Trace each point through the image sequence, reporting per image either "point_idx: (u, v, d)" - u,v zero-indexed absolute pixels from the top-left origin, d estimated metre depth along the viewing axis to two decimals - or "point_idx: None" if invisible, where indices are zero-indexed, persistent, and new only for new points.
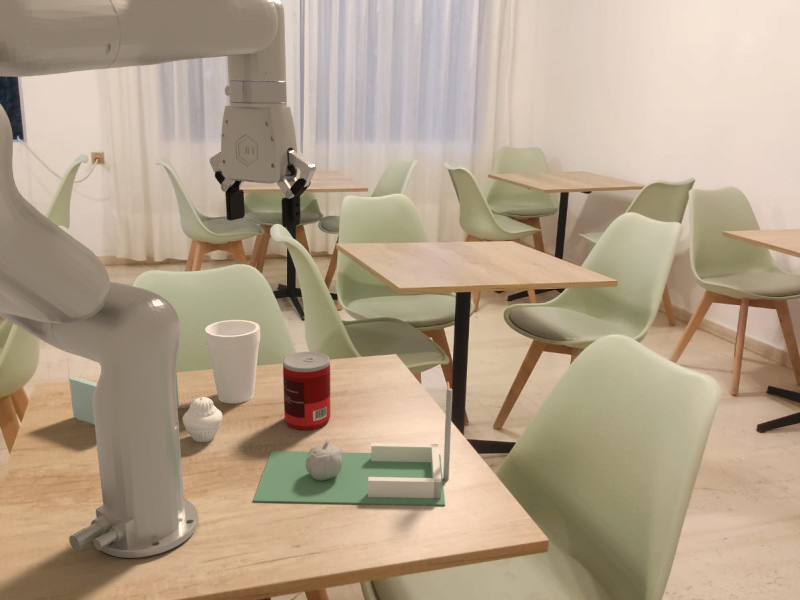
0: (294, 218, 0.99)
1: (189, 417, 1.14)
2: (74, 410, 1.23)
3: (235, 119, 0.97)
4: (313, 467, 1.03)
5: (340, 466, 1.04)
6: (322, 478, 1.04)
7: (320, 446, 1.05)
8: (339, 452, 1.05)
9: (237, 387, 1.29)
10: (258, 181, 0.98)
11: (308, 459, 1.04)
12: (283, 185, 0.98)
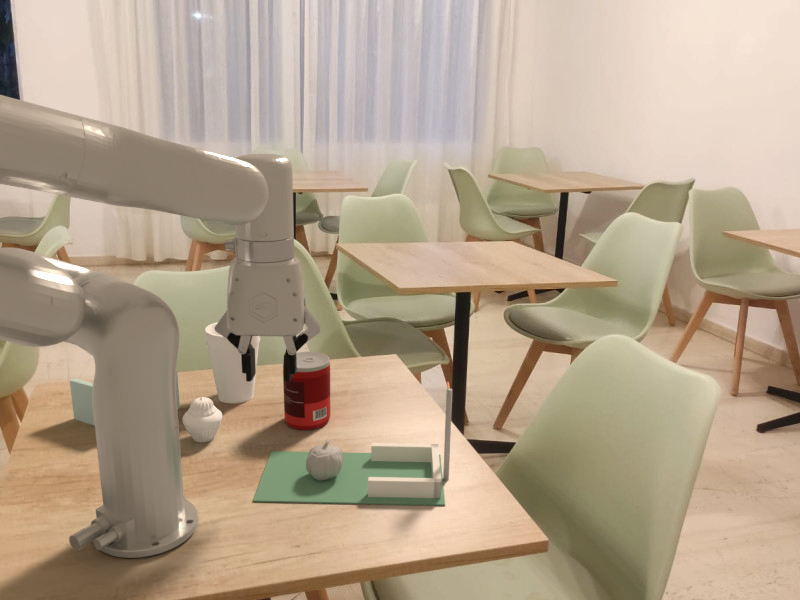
0: (295, 372, 1.01)
1: (189, 417, 1.14)
2: (74, 412, 1.22)
3: (248, 277, 0.95)
4: (313, 467, 1.03)
5: (340, 466, 1.04)
6: (322, 478, 1.04)
7: (320, 446, 1.05)
8: (339, 452, 1.05)
9: (237, 387, 1.29)
10: (277, 335, 0.97)
11: (308, 459, 1.04)
12: (289, 341, 0.99)
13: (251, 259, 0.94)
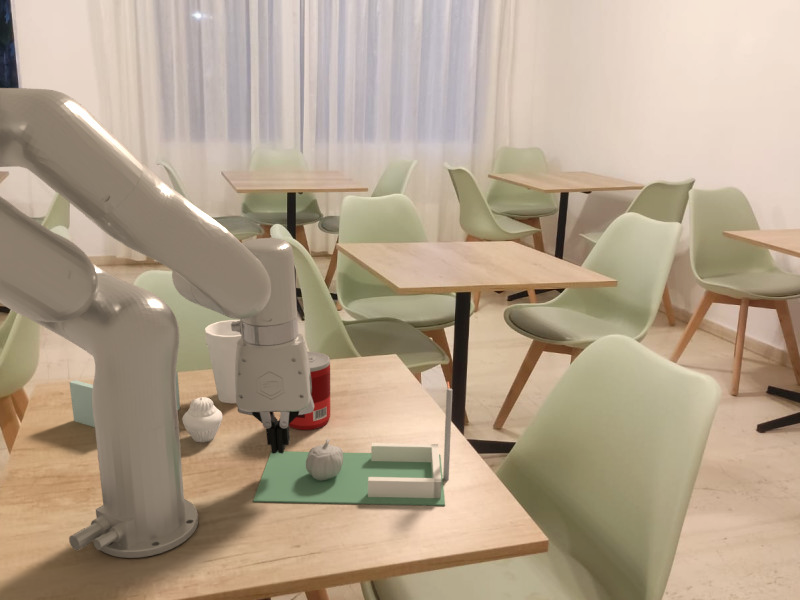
0: (288, 443, 1.05)
1: (189, 417, 1.14)
2: (74, 414, 1.22)
3: (255, 358, 0.99)
4: (313, 467, 1.03)
5: (340, 466, 1.04)
6: (322, 478, 1.04)
7: (320, 446, 1.05)
8: (339, 452, 1.05)
9: None
10: (285, 410, 1.01)
11: (308, 459, 1.04)
12: (285, 416, 1.03)
13: (257, 342, 0.97)
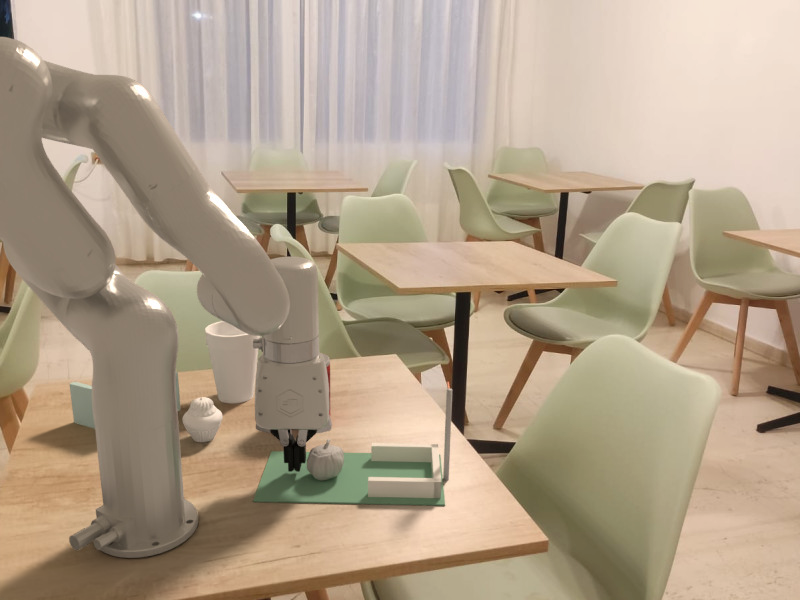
0: (304, 461, 1.05)
1: (189, 417, 1.14)
2: (74, 415, 1.21)
3: (276, 375, 0.99)
4: (314, 467, 1.03)
5: (341, 466, 1.04)
6: (323, 478, 1.04)
7: (321, 446, 1.05)
8: (340, 452, 1.05)
9: (237, 387, 1.29)
10: (303, 428, 1.01)
11: (309, 459, 1.04)
12: (303, 434, 1.03)
13: (279, 360, 0.97)
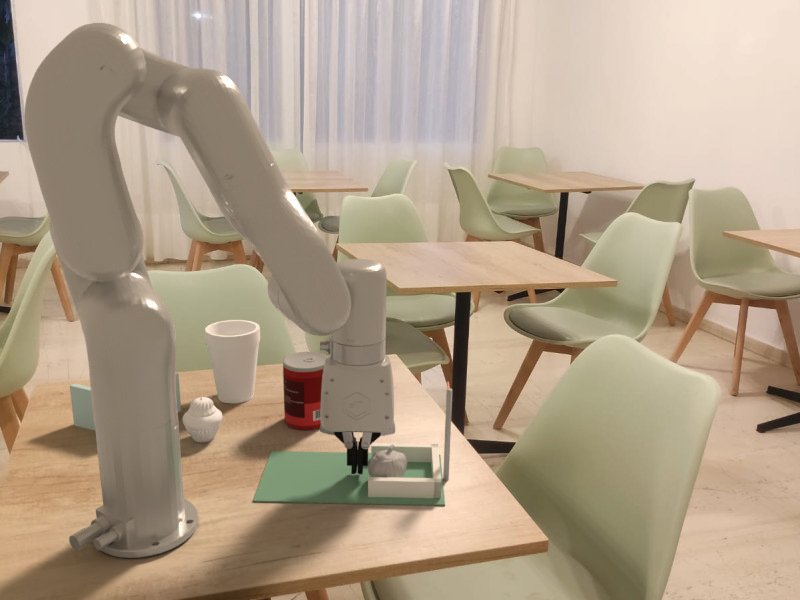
0: (367, 464, 1.05)
1: (189, 417, 1.14)
2: (74, 417, 1.20)
3: (343, 377, 0.99)
4: (374, 472, 1.02)
5: (402, 473, 1.03)
6: None
7: (384, 451, 1.04)
8: (402, 459, 1.03)
9: (237, 387, 1.29)
10: (369, 431, 1.01)
11: (370, 463, 1.03)
12: (367, 436, 1.03)
13: (347, 362, 0.97)
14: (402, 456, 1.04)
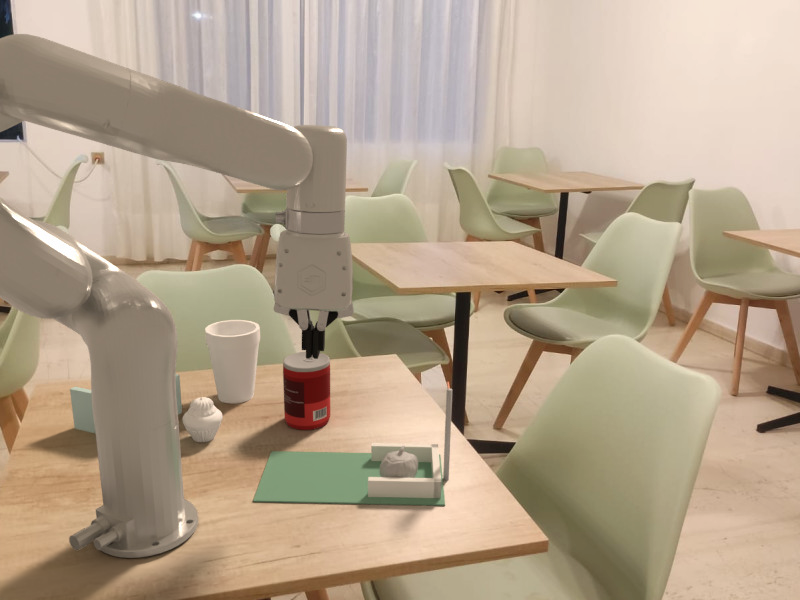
0: (323, 348, 1.00)
1: (189, 417, 1.14)
2: (75, 421, 1.19)
3: (298, 248, 0.94)
4: (386, 473, 1.02)
5: (413, 474, 1.03)
6: None
7: (395, 452, 1.04)
8: (413, 460, 1.03)
9: (237, 387, 1.29)
10: (324, 309, 0.96)
11: (382, 464, 1.03)
12: (323, 317, 0.98)
13: (303, 230, 0.92)
14: (413, 457, 1.04)
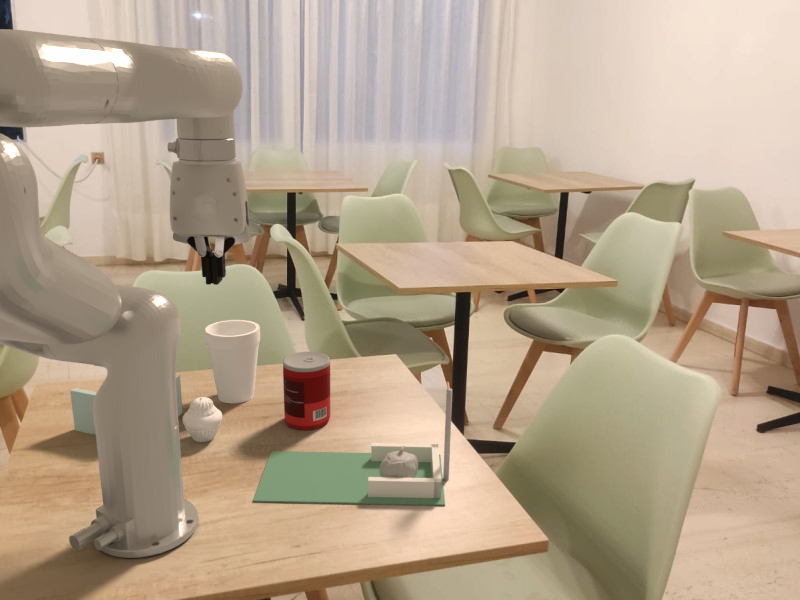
0: (223, 275, 1.04)
1: (189, 417, 1.14)
2: (75, 422, 1.18)
3: (189, 176, 0.98)
4: (386, 473, 1.02)
5: (413, 474, 1.02)
6: None
7: (395, 452, 1.04)
8: (413, 460, 1.03)
9: (237, 387, 1.29)
10: (219, 235, 1.00)
11: (382, 464, 1.03)
12: (220, 243, 1.02)
13: (191, 157, 0.96)
14: (413, 457, 1.04)
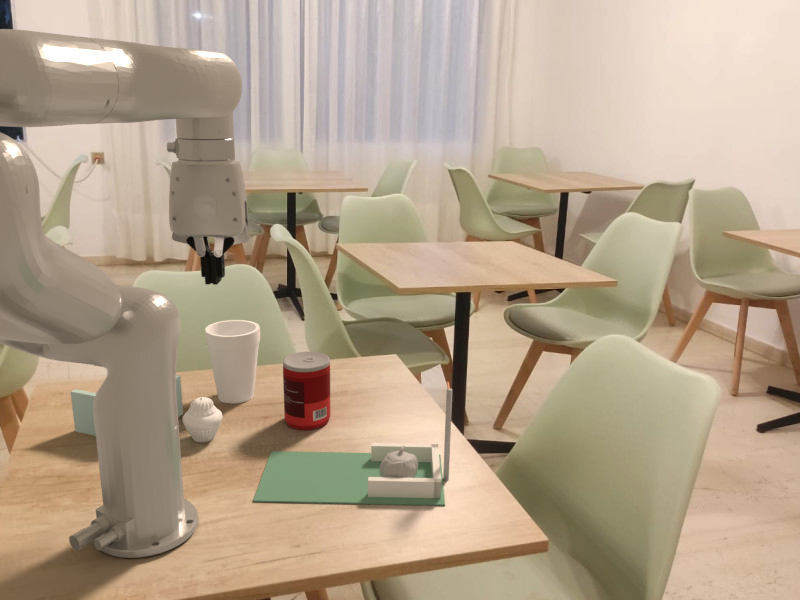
0: (222, 275, 1.04)
1: (189, 417, 1.14)
2: (75, 424, 1.18)
3: (189, 176, 0.98)
4: (386, 473, 1.02)
5: (413, 474, 1.03)
6: None
7: (395, 452, 1.04)
8: (413, 460, 1.03)
9: (237, 387, 1.29)
10: (218, 235, 1.00)
11: (382, 464, 1.03)
12: (219, 243, 1.02)
13: (190, 157, 0.96)
14: (413, 457, 1.04)
